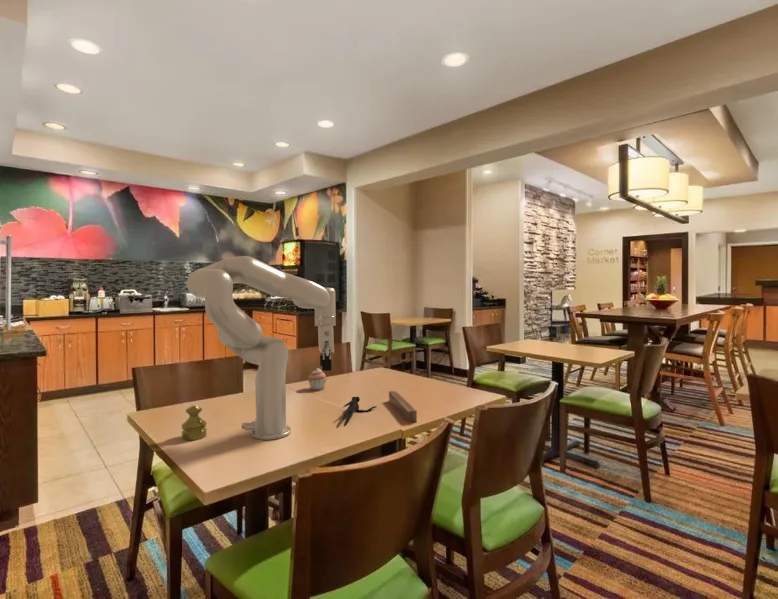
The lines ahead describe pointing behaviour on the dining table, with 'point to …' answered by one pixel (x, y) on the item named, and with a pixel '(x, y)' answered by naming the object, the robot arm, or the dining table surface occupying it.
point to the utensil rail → (403, 406)
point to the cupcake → (317, 380)
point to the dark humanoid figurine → (353, 409)
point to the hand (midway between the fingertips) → (325, 368)
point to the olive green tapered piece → (194, 425)
